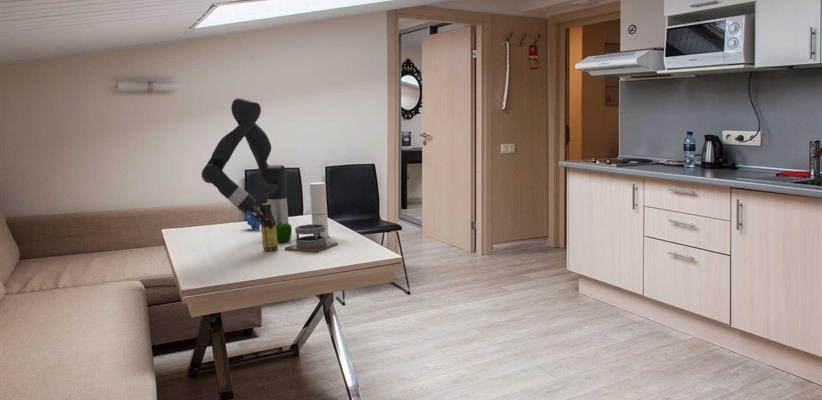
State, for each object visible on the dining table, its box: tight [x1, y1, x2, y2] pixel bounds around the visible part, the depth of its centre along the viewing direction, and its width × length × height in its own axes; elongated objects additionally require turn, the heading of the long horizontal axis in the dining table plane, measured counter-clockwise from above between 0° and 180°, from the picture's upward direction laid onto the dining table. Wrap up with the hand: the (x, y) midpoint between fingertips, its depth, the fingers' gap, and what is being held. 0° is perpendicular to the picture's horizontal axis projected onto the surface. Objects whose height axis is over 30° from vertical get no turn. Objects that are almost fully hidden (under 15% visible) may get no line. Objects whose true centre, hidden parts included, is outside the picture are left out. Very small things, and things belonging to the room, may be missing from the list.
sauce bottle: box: [260, 202, 279, 252], centre depth 269 cm, size 7×6×20 cm
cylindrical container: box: [309, 181, 330, 238], centre depth 294 cm, size 7×7×25 cm
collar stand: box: [284, 223, 339, 254], centre depth 271 cm, size 16×16×9 cm
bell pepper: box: [276, 220, 293, 243], centre depth 287 cm, size 8×8×10 cm
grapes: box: [244, 211, 261, 230], centre depth 320 cm, size 12×7×12 cm, turn 51°
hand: (272, 225), depth 269 cm, fingers closed on sauce bottle, 6 cm apart
